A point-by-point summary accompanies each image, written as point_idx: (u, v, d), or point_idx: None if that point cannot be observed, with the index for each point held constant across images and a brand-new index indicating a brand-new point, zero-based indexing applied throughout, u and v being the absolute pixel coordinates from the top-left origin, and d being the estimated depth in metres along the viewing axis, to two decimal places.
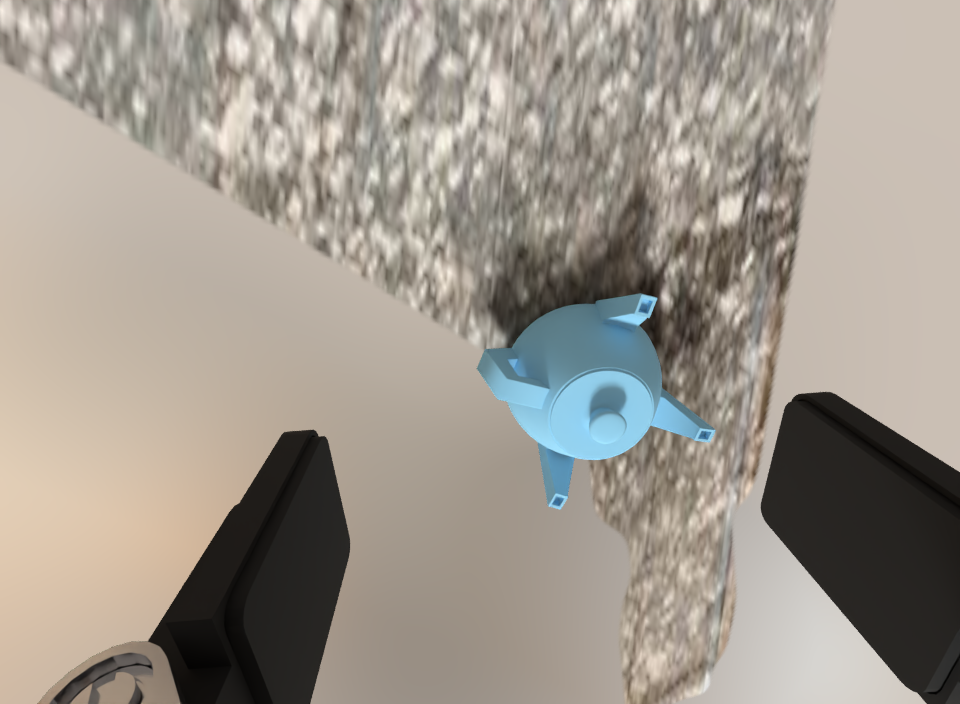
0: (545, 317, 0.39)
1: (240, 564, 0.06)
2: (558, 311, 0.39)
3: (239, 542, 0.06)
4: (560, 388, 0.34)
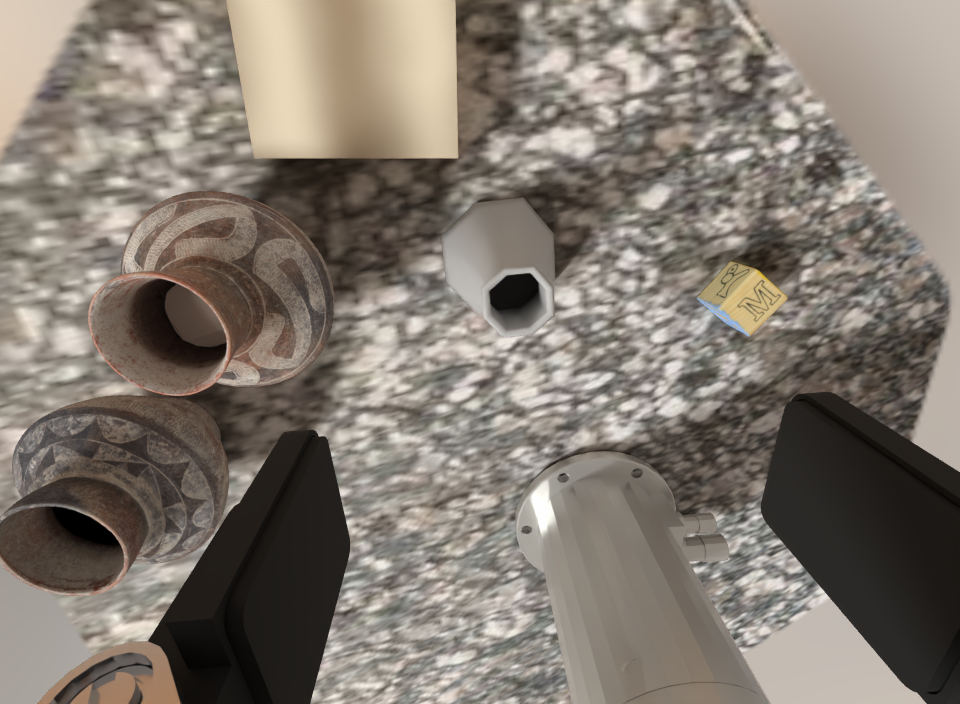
0: None
1: (240, 564, 0.06)
2: None
3: (239, 542, 0.06)
4: None
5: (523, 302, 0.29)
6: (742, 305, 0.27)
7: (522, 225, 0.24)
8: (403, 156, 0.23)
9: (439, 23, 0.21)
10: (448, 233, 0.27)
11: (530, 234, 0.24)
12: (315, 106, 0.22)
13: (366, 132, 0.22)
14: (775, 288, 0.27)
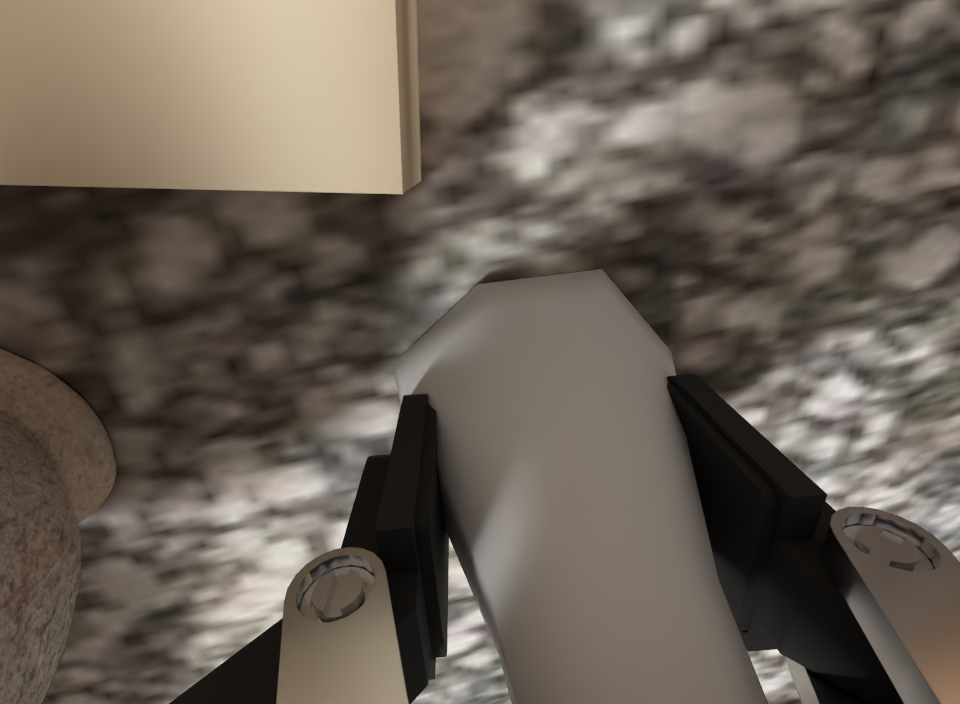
0: None
1: (416, 490, 0.07)
2: None
3: (407, 475, 0.07)
4: None
5: None
6: None
7: (625, 378, 0.08)
8: (200, 183, 0.06)
9: None
10: (409, 361, 0.11)
11: (650, 408, 0.08)
12: None
13: (41, 90, 0.06)
14: None
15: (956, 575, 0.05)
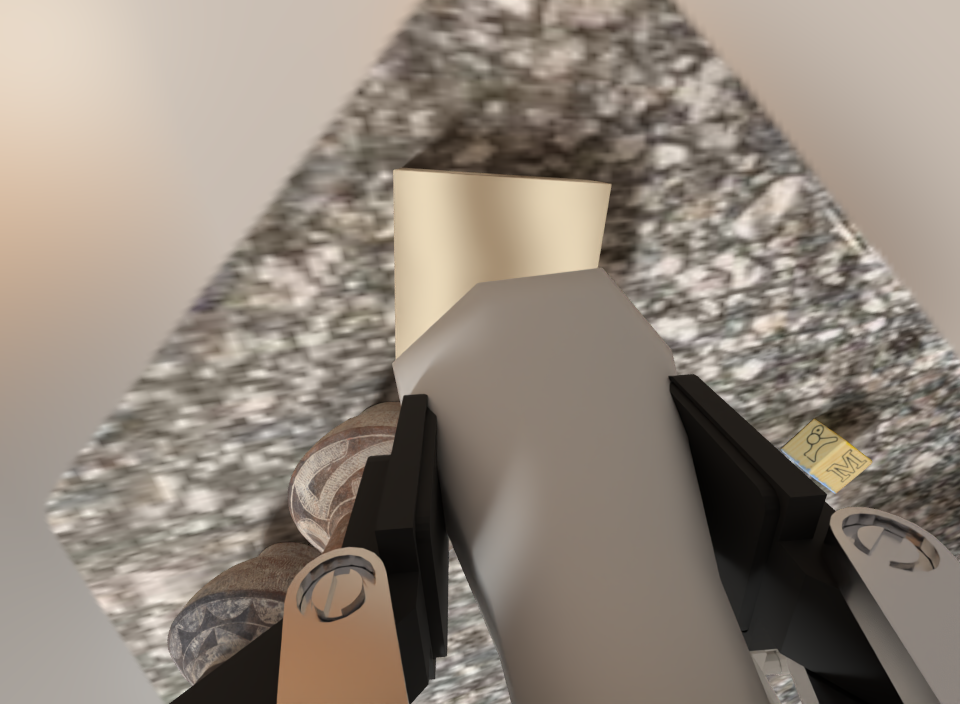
0: None
1: (416, 491, 0.07)
2: None
3: (407, 475, 0.07)
4: None
5: None
6: (830, 469, 0.29)
7: (626, 376, 0.08)
8: None
9: None
10: (409, 360, 0.11)
11: (651, 407, 0.08)
12: None
13: None
14: (862, 455, 0.29)
15: (956, 575, 0.05)
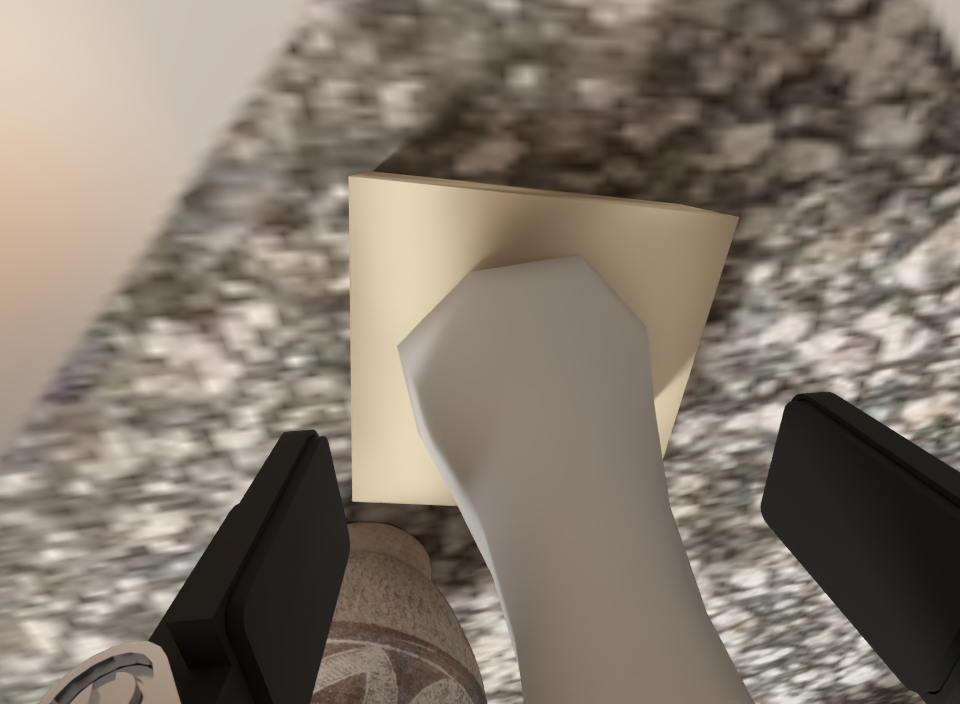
0: None
1: (241, 564, 0.06)
2: None
3: (239, 542, 0.06)
4: None
5: None
6: None
7: (596, 346, 0.09)
8: None
9: (667, 367, 0.14)
10: (412, 343, 0.12)
11: (618, 372, 0.09)
12: None
13: None
14: None
15: None
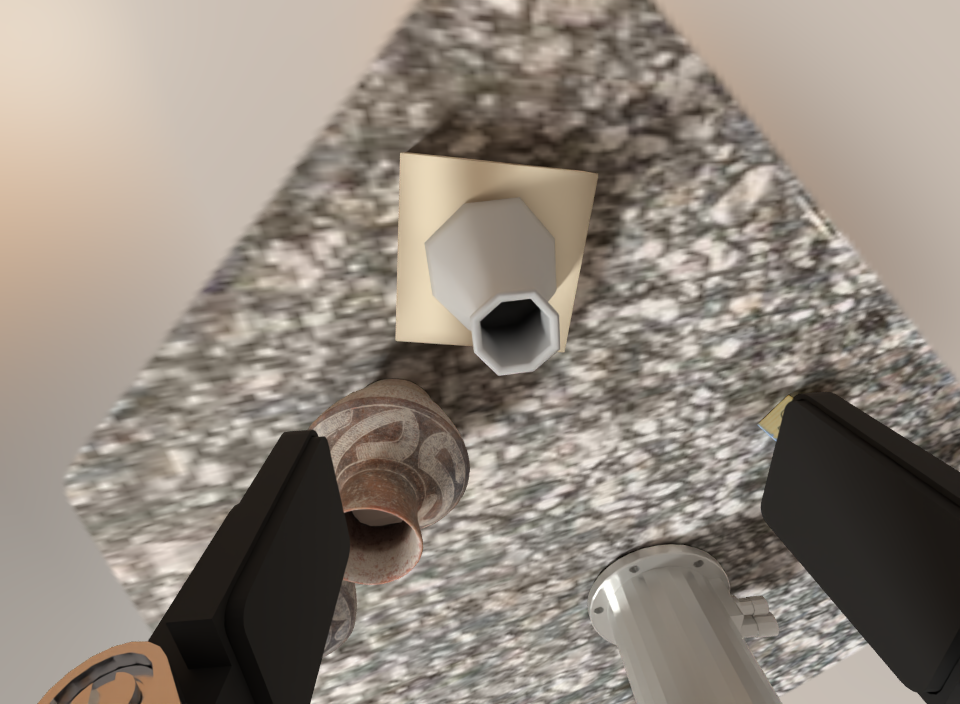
0: None
1: (240, 563, 0.06)
2: None
3: (239, 542, 0.06)
4: None
5: (520, 316, 0.26)
6: None
7: (519, 231, 0.21)
8: None
9: (569, 258, 0.25)
10: (432, 240, 0.23)
11: (528, 242, 0.21)
12: None
13: None
14: None
15: None
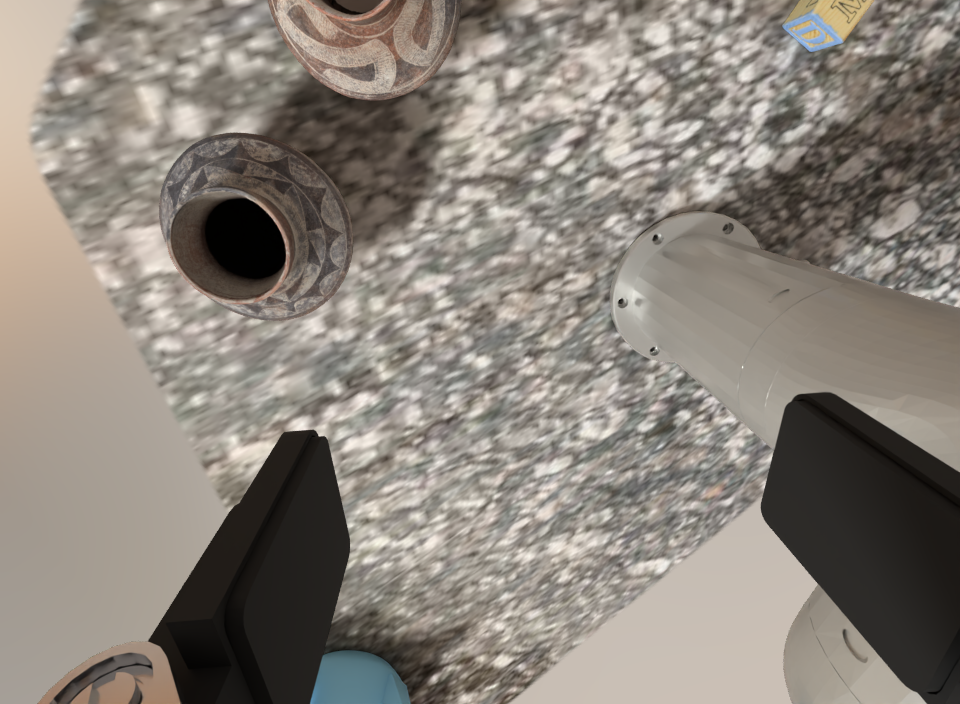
0: (354, 665, 0.50)
1: (240, 564, 0.06)
2: (364, 666, 0.51)
3: (239, 542, 0.06)
4: None
5: None
6: (835, 5, 0.28)
7: None
8: None
9: None
10: None
11: None
12: None
13: None
14: None
15: None
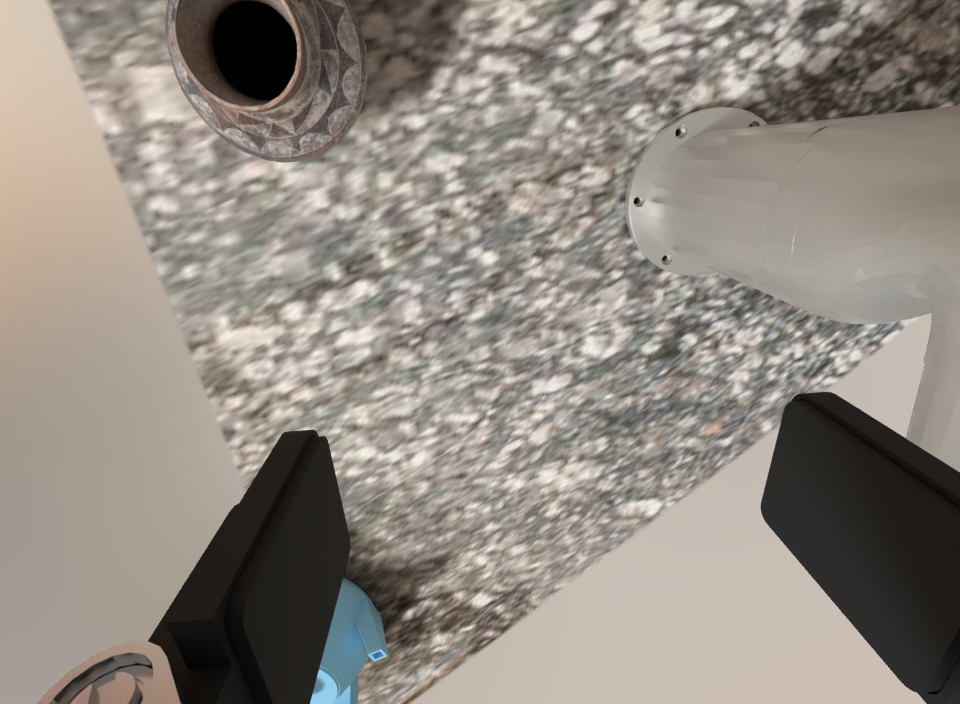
0: None
1: (240, 564, 0.06)
2: None
3: (239, 542, 0.06)
4: None
5: None
6: None
7: None
8: None
9: None
10: None
11: None
12: None
13: None
14: None
15: None
